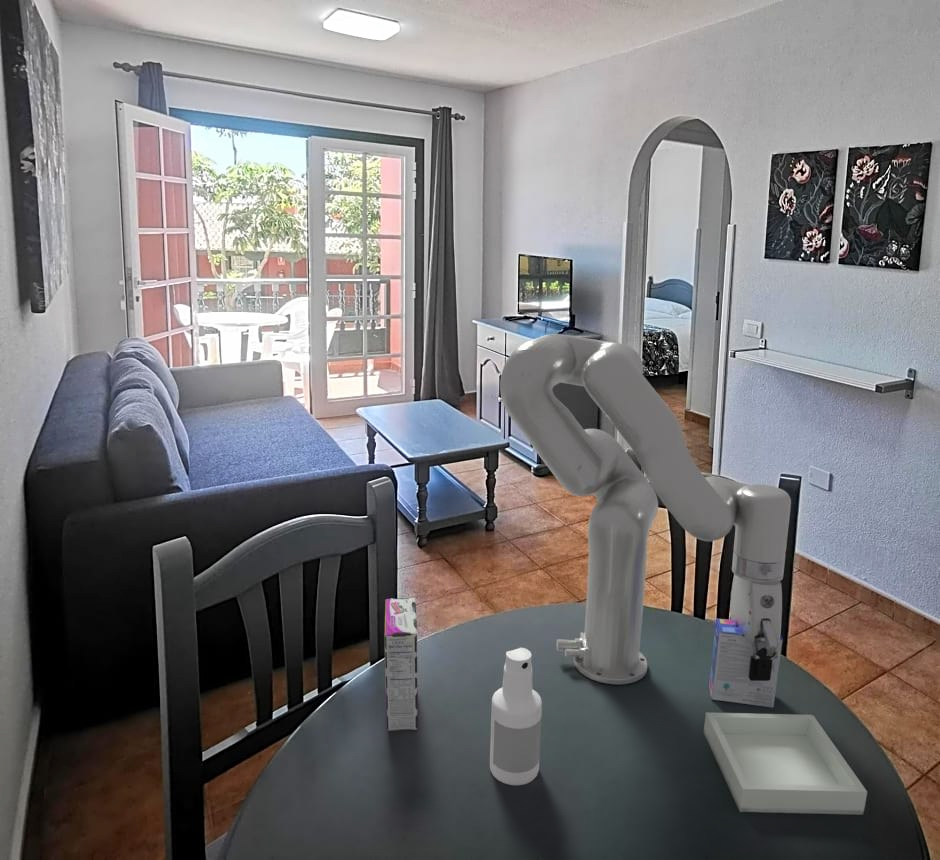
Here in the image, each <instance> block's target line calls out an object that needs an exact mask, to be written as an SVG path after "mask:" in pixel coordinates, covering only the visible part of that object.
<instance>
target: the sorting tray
mask: <svg viewBox="0 0 940 860" xmlns="http://www.w3.org/2000/svg"><path fill="white" fill-rule="evenodd" d="M703 735H704V737H705V739H706V741H707V743H708V746H709V748H710V750H711V751H712V754H713V756H714V758H715V761H716V763H717V766H718V767H719V770H720V771H721V774H722V776H723V778H724V780H725V782H726V784H727V787H728V790H729V791H730V794H731V795H732V798H733V800H734V802H735V805H736V807H737V809H738V810H739V812H740V813H772V814H773V813H774V814H775V813H778V814H779V813H782V814H783V813H784V814H814V815H816V814H821V815H822V814H825V815H859V816H860V815H861V816H862V815H864V812H865V808H866V802H867V796H868V791H867V790H866V788H865V786H864V785H863V784H862V782H861V780H860V779H859V778H858V776H857V775H856V773H855V772H854V771H853V769H852V768H851V766H849V763H848V762H847V761H846V759H845V758H844V757H843V755H842V754H841V752H840V751H839V749H838V748H837V747H836V746H835V744H834V743H833V741H832V740H831V739H830V737H829V736H828V734H827V733H826V731H825V730H824V728H823V727H822V726H821V725H820V722H819V721H818V719H816V717H815V716H814V715H813V714H790V713H788V714H787V713H785V714H784V713H783V714H782V713H749V712H747V713H743V712H708V711H707V712H705V718H704V726H703Z"/></svg>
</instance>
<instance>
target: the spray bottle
mask: <svg viewBox="0 0 940 860" xmlns="http://www.w3.org/2000/svg"><path fill="white" fill-rule="evenodd" d="M533 688H534V684H533V665H532V652H531V651H530V649H529V650H528V649H527V648H525V647H519V648H516V649H512V650H508V651H506V653H505V663H504V666H503V679H502V687H500V688H499V689H498V690H495V692H494V693H493V695H492V697H491V718H490V719H491V720H490V746H489V747H490V748H489V750H490V752H489V770H490V772H491V774H492V776H493V777H494V778H495V779H496V780H497V781H499V782H500V783H503V784H505V785H508V786H509V785H510V786H522V785H528V784H529V783H531V782H532V781H534V779H536V777H537V776H538V774H539V770H540V753H541V737H542V736H541V735H542V733H541V731H542V715H543V713H542V712H543V702H542V698H541V696H540V694H539V693H538V692H537V691H536V690H534V689H533Z"/></svg>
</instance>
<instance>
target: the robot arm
mask: <svg viewBox="0 0 940 860" xmlns="http://www.w3.org/2000/svg"><path fill="white" fill-rule="evenodd" d="M643 373H644V365H643V360H642V358H641V356H640V355H639V353H638V352H637V351H636V350H635V349H634V348H632V347H631V346H629V345H627V344H624V343H620V342H614V341H606V340H599V339H594V338H587V337H580V336H575V335H569V334H562V333H551V334H545V335H542V336H539V337H537V338H533V339H531V340H528V341H526V342H524V343H522V344H521V345H519V346H518V347H517V348H515V349H514V351H513V352H512V353H511V354H510V355H509V356H508V358H507V360H506V362H505V364H504V366H503V369H502V371H501V375H500V381H499V392H500V397H501V401H502V404H503V406H504V409H505V410H506V412H507V414H508V415H509V418H510V419H511V420H512V421H513V423H514V424H515V425H516V427H518V429H519V430H520V432H521V433H522V434H523V436H524V437H525V438H526V439H527V440H528V442H529V443H530V444H531V446H532V448H533V450H534V451H535V452H536V453H537V454H538V456H539V457H540V459H541V460H542V461H543V463H544V464H545V466H546V467H547V469H548V470H549V471H550V472H551V473H552V474H553V476H554V478H555V479H556V481H557V482H558V483H559V485H561V486H562V487H563V489H564V490H566V492H568V493H569V494H571V495H573V496H576V497H589V496H591V495H593V496H595V499H597V501H596V503H595V505H594V507H593V508H592V510H591V513H590V517H589V520H588V525H587V526H588V528H587V530H588V531H587V542H588V565H587V584H586V585H587V587H586V588H587V589H586V603H585V617H584V618H585V619H584V632H579V633H580V634H579V638H577V637H575V638H574V639H562V638H561V639H560V638H559V639H556V651H559V652H564V656H565V658H573V663H574V666H575V667H576V669H577V671H579V672H580V673H581V674H582V675H583V676H585V677H587V678H589V679H591V680H593V681H596V682H599V683H603V684H608V685H619V686H620V685H629V684H632V683H635V682H638V681H639V680H641V679H643V678H644V677H645V675H646V674H647V671H648V660H647V659H646V656H644V654H643V653H642V652H641V651H640V648H641V646H640V645H641V636H642V635H641V634H642V626H643V625H642V624H643V613H644V612H643V611H644V601H645V591H646V590H645V588H646V577H647V558H648V557H647V553H648V538H649V533H650V531H651V528H652V526H653V523H654V521H655V518H656V517H657V512H658V509H659V501H658V500H659V499H660V501H661V502H662V503H663V506H665V508H666V509H667V511H669V512H670V514H671V515H672V516H673V517H674V519H675V520H676V521H677V522H678V524H679V525H680V526H681V527H682V529H684V531H686V532H687V533H688V534H689V535H690V536H692V537H694V539H695V538H696V539H698V540H700V541H704V542H714V541H719V540H721V539H722V538H723V539H724V537H726V536H727V535H728V534H729V533H730V531H731V530H732V528H733V526H734V527H735V529H734V530H735V533H734V543H733V552H732V564H731V565H732V566H731V571H732V573H733V578H732V579H733V580H732V583H731V584H732V585H731V592H730V603H729V604H730V605H729V610H730V616H729V620H734V621H735V623H736V621H737V626H738V627H739V628H740V630H741V631H742V633H743V634H744V636H745V637H746V638H747V639H748V640H749V641H751V644H752V650H753V656H751V657H750V667H749V679H750V680H751V681H769V680H770V678H771V669H772V660H773V659H774V656H775V654H776V652H775V651H776V649H777V647H778V643H777V642H778V641H779V640H780V634H781V631H782V615H783V592H782V582H781V581H782V580H783V578H784V572H785V571H784V570H785V561H786V554H787V553H786V552H787V543H788V535H789V526H790V517H791V506H792V499H791V496H790V495H789V493H788V492H787V491H786V490H784V489H782V488H779V487H777V486H774V485H773V486H772V485H769V484H748V483H745V482H744V483H743V482H739V481H736V480H733V479H728V478H724V477H720V476H714V475H713V476H704V474H703V473H702V472H701V470H700V469H699V467H698V466H697V465H696V463H695V461H694V459H693V457H692V455H691V453H690V452H689V451H690V450H689V449H688V446H687V445H686V441H685V438H684V437H685V436H684V433H683V430H682V426H681V423H680V422H679V419H678V417H677V416H676V414H675V413H674V411H672V409H671V408H670V407H669V405H667V404H666V402H665V401H664V400H663V398H662V397H661V396H660V395H659V393H658V392H657V391H656V389H655V388H654V387H653V386H652V385H651V383H650V381H648V379H647V378H646V377H645V376H644V375H643ZM560 383H562V384H569V385H574V386H579V387H584V389H585V391H586V392H587V394H588V395H589V396H590V398H591V399H592V401H594V403H595V404H596V405H597V406H598V408H599V409H600V410H601V412H603V414H604V415H605V416H606V418H607V419H608V420H609V422H610V423H611V424H612V425H613V427H614V428H615V429H616V430H617V431H618V432H619V434H620V435H621V436H622V438H623V439H624V440H625V442H627V444H628V445H629V447H630V448H631V450H632V451H633V453H634V454H635V457H636V459H637V461H638V464H639V465H640V467H641V469H642V470H643V472H644V474H643V473H642V471H641V470H640V467H638V466H637V464H636V463H635V462H634V461H633V459H632V458H631V457H630V456H629V454H628V453H627V452H626V450H625V449H624V448H623V446H621V444H620V443H619V441H617V440H616V439H615V437H613V436H612V435H611V434H610V433H608V432H606V431H605V430H601V429H597V428H585V429H584V428H583V427H582V425H581V424H580V423H579V421H578V420H577V419H576V418H575V416H574V415H573V412H571V411H570V410H569V408H568V407H567V406H565V405H564V404H563V402H562V401H560V400H559V399H558V398H557V397H556V396H555V394H554V391H553V390H554V389H553V388H554V387H555V386H556V385H559V384H560ZM657 496H658V497H657ZM658 498H659V499H658ZM757 634H762V635H763V636H764V638H757V637H755V636H757ZM758 643H765V645H764V646H765V648H761V649H760V650H758Z"/></svg>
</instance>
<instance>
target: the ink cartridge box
mask: <svg viewBox="0 0 940 860" xmlns="http://www.w3.org/2000/svg"><path fill="white" fill-rule="evenodd" d="M714 623H715V625H714V638H713V649H712V657H711V668H710V677H709V683H708V687H709V688H708V689H709V693H710V695H709V696H710V699H711V700H713V701H723V702H727V703H728V702H729V703H737V704H745V705H752V706H759V707H766V708H774V706H775V700H776V699H775V698H776V692H777V683H778V676H779V668H780V662H781V654H782V649H783V648H782V647H783V641H784V638H783V635H782V634H781V633H780V640H779V641H778V642H777V643H778V647H777V649H776V651H775V652H776V654H775V656H774V659H773V660H772V669H771V678H770V680H769V681H751V680H750V679H749V667H750V657H751V656H753V650H752V644H751V641H749V640H748V639H747V638H746V637H745V636H744V634H743V633H742V631H741V630H740V628H739V627H738V626H737V621H736V623H735V621H734V620H730V619H726V618H715V622H714ZM755 637H757V638H764V636H763V635H762V634H757V636H755ZM764 645H765V643H758V650H760V649H761V648H765V646H764Z"/></svg>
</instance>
